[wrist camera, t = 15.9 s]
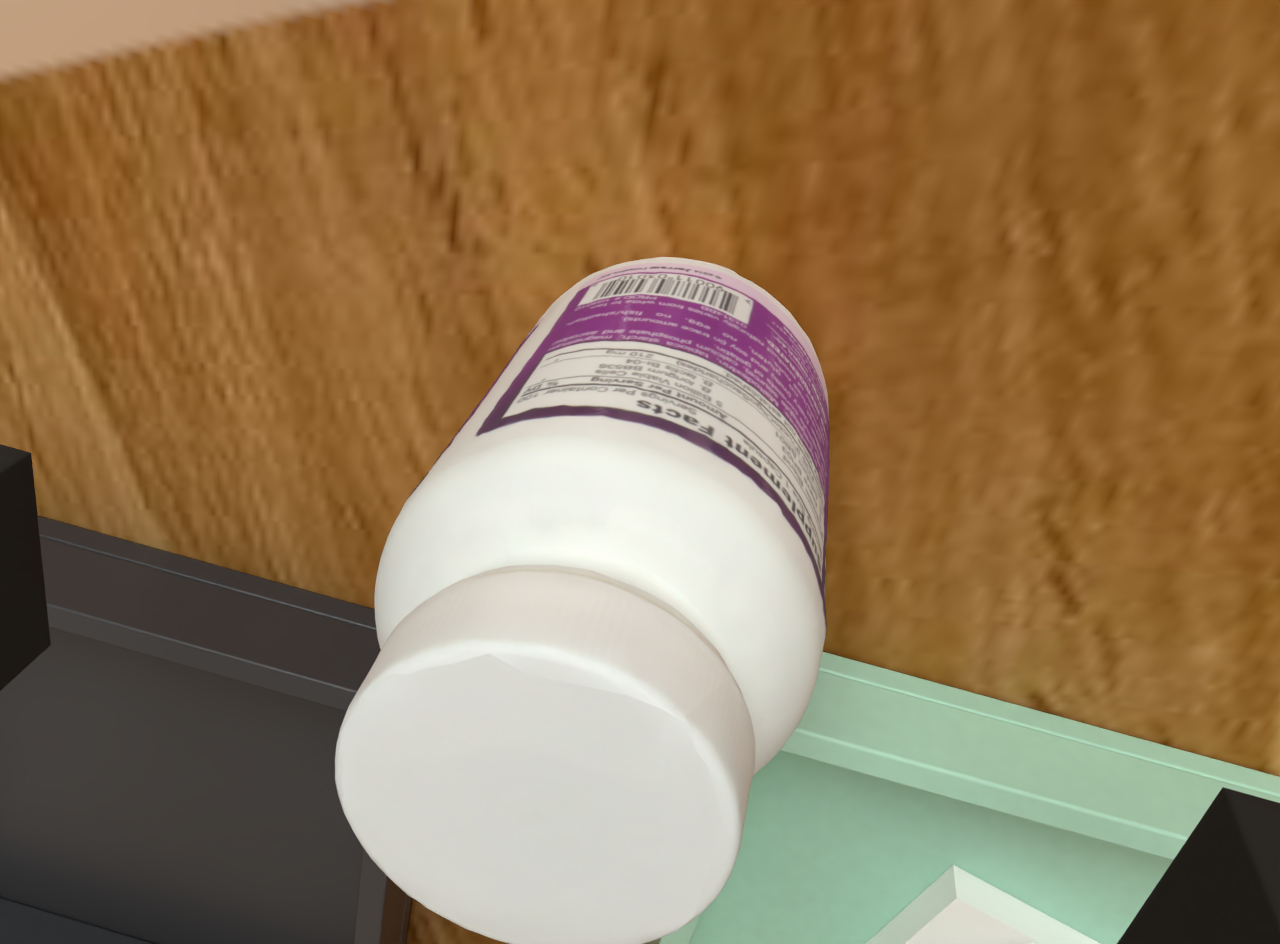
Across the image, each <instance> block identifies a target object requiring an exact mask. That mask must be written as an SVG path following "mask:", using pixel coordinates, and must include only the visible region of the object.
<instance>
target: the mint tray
mask: <svg viewBox="0 0 1280 944" xmlns="http://www.w3.org/2000/svg"><path fill="white" fill-rule="evenodd" d="M1222 787H1224V788H1228V789H1231V790H1235V791H1239V792H1242V793H1246V794H1249V795H1253V796H1256V797H1260V798H1264V799H1267V800H1271V801H1274V802H1278V803H1280V777H1279V776H1275V775H1271V774H1268V773H1264V772H1260V771H1257V770H1253V769H1250V768H1246V767H1242V766H1239V765H1235V764H1231V763H1228V762H1224V761H1220V760H1217V759H1213V758H1209V757H1206V756H1202V755H1198V754H1195V753H1191V752H1188V751H1184V750H1180V749H1177V748H1173V747H1169V746H1166V745H1162V744H1158V743H1155V742H1151V741H1147V740H1144V739H1140V738H1136V737H1133V736H1129V735H1125V734H1122V733H1118V732H1115V731H1111V730H1107V729H1104V728H1100V727H1096V726H1093V725H1089V724H1085V723H1082V722H1078V721H1074V720H1071V719H1067V718H1063V717H1060V716H1056V715H1053V714H1049V713H1045V712H1042V711H1038V710H1034V709H1031V708H1027V707H1023V706H1020V705H1016V704H1012V703H1009V702H1005V701H1001V700H998V699H994V698H991V697H987V696H983V695H980V694H976V693H972V692H969V691H965V690H961V689H958V688H954V687H950V686H947V685H943V684H939V683H936V682H932V681H928V680H925V679H921V678H918V677H914V676H910V675H907V674H903V673H899V672H896V671H892V670H888V669H885V668H881V667H877V666H874V665H870V664H866V663H863V662H859V661H856V660H852V659H848V658H845V657H841V656H837V655H834V654H830V653H826V652H822V657H821V661H820V667H819V672H818V676H817V680H816V684H815V687H814V690H813V693H812V696H811V699H810V702H809V704H808V706H807V708H806V710H805V712H804V714H803V716H802V718H801V720H800V722H799V724H798V725H797V727H796V729H795V730H794V732H793V733H792V735H791V736H790V738H789V739H788V741H787V742H786V743H785V745H784V746H783V747H782V748H781V749H780V750H779V752H778V753H777V754H776V755H775V756H774V757H773V758H772V759H771V760H770V761H769V762H768V763H767V764H766V765H765V766H764V767H763V768H762V769H760V770H759V771H758V772H757V773H756V774H755V775H753V778H752V783H751V787H750V790H749V795H748V802H747V809H746V815H745V821H744V827H743V833H742V838H741V844H740V849H739V853H738V856H737V858H736V861H735V864H734V867H733V869H732V872H731V875H730V877H729V879H728V880H727V882H726V884H725V886H724V888H723V889H722V891H721V892H720V894H719V895H718V897H717V898H716V899H715V900H714V901H713V902H712V903H711V904H710V905H709V906H708V907H707V908H706V909H705V910H704V911H703V912H702V913H701V914H700V915H699V916H698V917H696V918H695V919H694V920H692V921H691V922H689V923H688V924H687V925H685V926H683V927H682V928H680V929H679V930H677V931H675V932H673V933H671V934H669V935H667V936H664V937H662V938H659V939H656V940H653V941H650V942H647V944H866V943H867V942H868V941H869V940H870V939H871V938H872V937H874V936H875V935H876V934H877V933H878V932H879V931H880V930H881V929H882V928H884V927H885V926H886V925H887V924H888V923H889V922H890V921H891V920H892V919H894V918H895V917H896V916H897V915H898V914H899V913H900V912H901V911H902V910H904V909H905V908H906V907H907V906H908V905H909V904H910V903H911V902H912V901H914V900H915V899H916V898H917V897H918V896H919V895H920V894H921V893H922V892H924V891H925V890H926V889H927V888H928V887H929V886H930V885H931V884H932V883H934V882H935V881H936V880H937V879H938V878H939V877H940V876H941V875H942V874H944V873H945V872H946V871H947V870H948V869H949V868H950V867H951V866H952V865H955V866H957V867H958V868H960V869H962V870H964V871H966V872H968V873H970V874H971V875H973V876H975V877H977V878H979V879H981V880H983V881H985V882H986V883H988V884H990V885H992V886H994V887H996V888H998V889H999V890H1001V891H1003V892H1005V893H1007V894H1009V895H1011V896H1013V897H1014V898H1016V899H1018V900H1020V901H1022V902H1024V903H1026V904H1027V905H1029V906H1031V907H1033V908H1035V909H1037V910H1039V911H1041V912H1042V913H1044V914H1046V915H1048V916H1050V917H1052V918H1054V919H1055V920H1057V921H1059V922H1061V923H1063V924H1065V925H1067V926H1069V927H1070V928H1072V929H1074V930H1076V931H1078V932H1080V933H1082V934H1083V935H1085V936H1087V937H1089V938H1091V939H1093V940H1095V941H1097V942H1098V943H1100V944H1117V943H1118V941H1119V940H1120V938H1121V937H1122V936H1123V934H1124V933H1125V931H1126V930H1127V928H1128V927H1129V925H1130V924H1131V922H1132V921H1133V919H1134V918H1135V916H1136V915H1137V913H1138V912H1139V910H1140V909H1141V907H1142V906H1143V904H1144V903H1145V901H1146V900H1147V898H1148V897H1149V896H1150V894H1151V893H1152V891H1153V890H1154V888H1155V887H1156V885H1157V884H1158V882H1159V881H1160V879H1161V878H1162V876H1163V875H1164V873H1165V872H1166V870H1167V869H1168V867H1169V866H1170V864H1171V863H1172V861H1173V860H1174V858H1175V857H1176V856H1177V854H1178V853H1179V851H1180V850H1181V848H1182V847H1183V845H1184V844H1185V842H1186V841H1187V839H1188V838H1189V836H1190V835H1191V833H1192V832H1193V830H1194V829H1195V827H1196V826H1197V824H1198V823H1199V821H1200V820H1201V819H1202V817H1203V816H1204V814H1205V813H1206V811H1207V810H1208V808H1209V807H1210V805H1211V804H1212V802H1213V801H1214V799H1215V798H1216V796H1217V795H1218V793H1219V792H1220V790H1221V789H1222Z"/></svg>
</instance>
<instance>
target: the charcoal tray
mask: <svg viewBox="0 0 1280 944" xmlns="http://www.w3.org/2000/svg"><path fill="white" fill-rule="evenodd" d="M38 526H39V536H40V545H41V555H42V565H43V574H44V584H45V594H46V603H47V613H48V622H49V632H50V642H51V645H50V646H49V647H48V648H47V649H46V650H45V651H44V652H43V653H42V654H40V655H39V656H38V657H37V658H36V659H35V660H34V661H33V662H32V663H31V664H29V665H28V666H27V667H26V668H25V669H24V670H23V671H22V672H21V673H20V674H18V675H17V676H16V677H15V678H14V679H13V680H12V681H11V682H10V683H9V684H7V685H6V686H5V687H4V688H3V689H2V690H1V691H0V944H406V939H407V932H408V924H409V917H410V910H411V902H412V897H410V896H408V895H407V894H406V893H405V892H404V891H403V890H402V889H401V888H399V887H398V886H397V885H396V884H395V883H394V882H393V881H392V880H391V879H390V878H389V877H388V876H387V875H386V874H385V873H384V872H383V871H382V870H381V869H380V868H379V867H378V866H377V865H376V863H375V862H374V861H373V860H372V859H371V858H370V856H369V855H368V853H367V852H366V851H365V849H364V848H363V846H362V845H361V843H360V841H359V840H358V838H357V837H356V835H355V833H354V831H353V830H352V828H351V826H350V824H349V822H348V820H347V818H346V816H345V814H344V812H343V809H342V805H341V802H340V799H339V796H338V792H337V787H336V782H335V754H336V744H337V740H338V736H339V732H340V728H341V725H342V722H343V720H344V717H345V715H346V712H347V709H348V707H349V705H350V703H351V702H352V700H353V698H354V696H355V695H356V693H357V691H358V690H359V688H360V686H361V685H362V683H363V681H364V680H365V678H366V676H367V674H368V673H369V671H370V669H371V668H372V666H373V664H374V662H375V660H376V659H377V657H378V655H379V653H380V651H381V649H380V645H379V642H378V638H377V630H376V621H375V609H371V608H368V607H364V606H361V605H357V604H353V603H350V602H346V601H343V600H339V599H335V598H332V597H328V596H325V595H321V594H317V593H314V592H310V591H307V590H303V589H299V588H296V587H292V586H289V585H285V584H282V583H278V582H274V581H271V580H267V579H264V578H260V577H256V576H253V575H249V574H246V573H242V572H238V571H235V570H231V569H228V568H224V567H221V566H217V565H213V564H210V563H206V562H203V561H199V560H195V559H192V558H188V557H185V556H181V555H177V554H174V553H170V552H167V551H163V550H159V549H156V548H152V547H149V546H145V545H142V544H138V543H134V542H131V541H127V540H124V539H120V538H116V537H113V536H109V535H106V534H102V533H98V532H95V531H91V530H88V529H84V528H81V527H77V526H73V525H70V524H66V523H63V522H59V521H55V520H52V519H48V518H45V517H41V516H38Z"/></svg>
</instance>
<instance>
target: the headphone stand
mask: <svg viewBox="0 0 1280 944" xmlns="http://www.w3.org/2000/svg"><path fill="white" fill-rule="evenodd" d="M866 944H1100V943H1098V942H1097V941H1095V940H1093V939H1091V938H1089V937H1087V936H1085V935H1083V934H1082V933H1080V932H1078V931H1076V930H1074V929H1072V928H1070V927H1069V926H1067V925H1065V924H1063V923H1061V922H1059V921H1057V920H1055V919H1054V918H1052V917H1050V916H1048V915H1046V914H1044V913H1042V912H1041V911H1039V910H1037V909H1035V908H1033V907H1031V906H1029V905H1027V904H1026V903H1024V902H1022V901H1020V900H1018V899H1016V898H1014V897H1013V896H1011V895H1009V894H1007V893H1005V892H1003V891H1001V890H999V889H998V888H996V887H994V886H992V885H990V884H988V883H986V882H985V881H983V880H981V879H979V878H977V877H975V876H973V875H971V874H970V873H968V872H966V871H964V870H962V869H960V868H958V867H957V866H955V865H952V866H951V867H950V868H949V869H948V870H947V871H946V872H945V873H944V874H942V875H941V876H940V877H939V878H938V879H937V880H936V881H935V882H934V883H932V884H931V885H930V886H929V887H928V888H927V889H926V890H925V891H924V892H922V893H921V894H920V895H919V896H918V897H917V898H916V899H915V900H914V901H912V902H911V903H910V904H909V905H908V906H907V907H906V908H905V909H904V910H902V911H901V912H900V913H899V914H898V915H897V916H896V917H895V918H894V919H892V920H891V921H890V922H889V923H888V924H887V925H886V926H885V927H884V928H882V929H881V930H880V931H879V932H878V933H877V934H876V935H875V936H874V937H872V938H871V939H870V940H869V941H868V942H867V943H866Z"/></svg>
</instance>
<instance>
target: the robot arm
mask: <svg viewBox="0 0 1280 944" xmlns="http://www.w3.org/2000/svg"><path fill="white" fill-rule="evenodd" d="M50 645H51V642H50V632H49V622H48V613H47V603H46V594H45V584H44V574H43V565H42V555H41V545H40V536H39V526H38V516H37V507H36V497H35V487H34V478H33V468H32V458H31V453H29V452H25V451H22V450H18V449H15V448H11V447H8V446H4V445H0V691H1V690H2V689H3V688H4V687H5V686H6V685H7V684H9V683H10V682H11V681H12V680H13V679H14V678H15V677H16V676H17V675H18V674H20V673H21V672H22V671H23V670H24V669H25V668H26V667H27V666H28V665H29V664H31V663H32V662H33V661H34V660H35V659H36V658H37V657H38V656H39V655H40V654H42V653H43V652H44V651H45V650H46V649H47V648H48V647H49V646H50ZM1117 944H1280V803H1278V802H1274V801H1271V800H1267V799H1264V798H1260V797H1256V796H1253V795H1249V794H1246V793H1242V792H1239V791H1235V790H1231V789H1228V788H1224V787H1222V789H1221V790H1220V792H1219V793H1218V795H1217V796H1216V798H1215V799H1214V801H1213V802H1212V804H1211V805H1210V807H1209V808H1208V810H1207V811H1206V813H1205V814H1204V816H1203V817H1202V819H1201V820H1200V821H1199V823H1198V824H1197V826H1196V827H1195V829H1194V830H1193V832H1192V833H1191V835H1190V836H1189V838H1188V839H1187V841H1186V842H1185V844H1184V845H1183V847H1182V848H1181V850H1180V851H1179V853H1178V854H1177V856H1176V857H1175V858H1174V860H1173V861H1172V863H1171V864H1170V866H1169V867H1168V869H1167V870H1166V872H1165V873H1164V875H1163V876H1162V878H1161V879H1160V881H1159V882H1158V884H1157V885H1156V887H1155V888H1154V890H1153V891H1152V893H1151V894H1150V896H1149V897H1148V898H1147V900H1146V901H1145V903H1144V904H1143V906H1142V907H1141V909H1140V910H1139V912H1138V913H1137V915H1136V916H1135V918H1134V919H1133V921H1132V922H1131V924H1130V925H1129V927H1128V928H1127V930H1126V931H1125V933H1124V934H1123V936H1122V937H1121V938H1120V940H1119V941H1118V943H1117Z"/></svg>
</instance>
